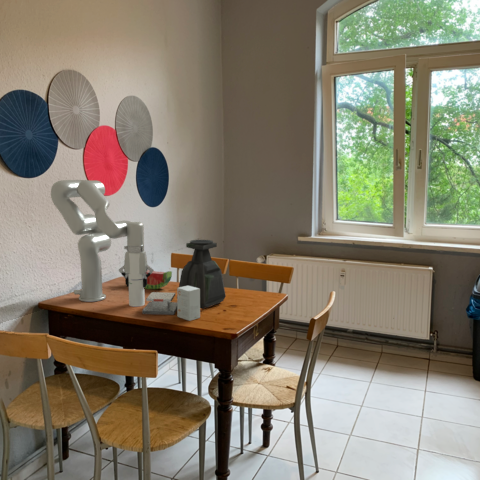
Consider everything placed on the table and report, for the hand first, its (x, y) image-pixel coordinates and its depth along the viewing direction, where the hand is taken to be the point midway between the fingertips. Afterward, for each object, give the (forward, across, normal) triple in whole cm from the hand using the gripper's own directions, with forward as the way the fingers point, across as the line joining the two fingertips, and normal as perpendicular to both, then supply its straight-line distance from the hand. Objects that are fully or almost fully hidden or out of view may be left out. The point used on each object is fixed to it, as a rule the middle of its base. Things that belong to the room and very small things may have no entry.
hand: (136, 286), depth 213 cm
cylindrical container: (+9, 0, 0) cm, 9 cm away
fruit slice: (+9, -2, +31) cm, 32 cm away
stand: (+9, +13, -7) cm, 17 cm away
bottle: (+9, +30, +4) cm, 32 cm away
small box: (+9, +27, -17) cm, 33 cm away
